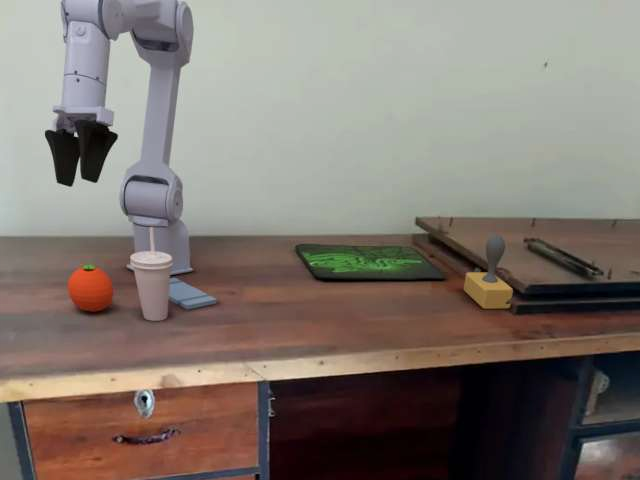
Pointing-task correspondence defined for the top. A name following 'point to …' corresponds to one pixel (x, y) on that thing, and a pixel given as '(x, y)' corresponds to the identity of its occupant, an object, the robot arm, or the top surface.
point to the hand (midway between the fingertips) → (76, 182)
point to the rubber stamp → (489, 279)
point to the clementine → (90, 288)
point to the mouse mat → (367, 262)
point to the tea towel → (188, 295)
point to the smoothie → (152, 280)
